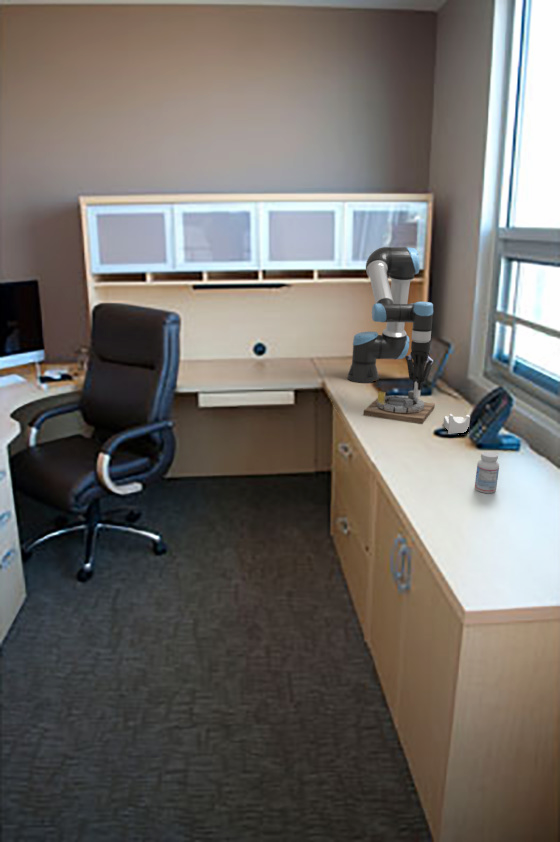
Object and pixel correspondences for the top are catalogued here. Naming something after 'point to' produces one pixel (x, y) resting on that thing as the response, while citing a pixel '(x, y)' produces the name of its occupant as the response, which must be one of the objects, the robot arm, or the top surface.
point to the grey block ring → (408, 406)
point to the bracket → (456, 423)
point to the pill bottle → (487, 473)
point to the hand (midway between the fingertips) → (416, 396)
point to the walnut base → (410, 417)
